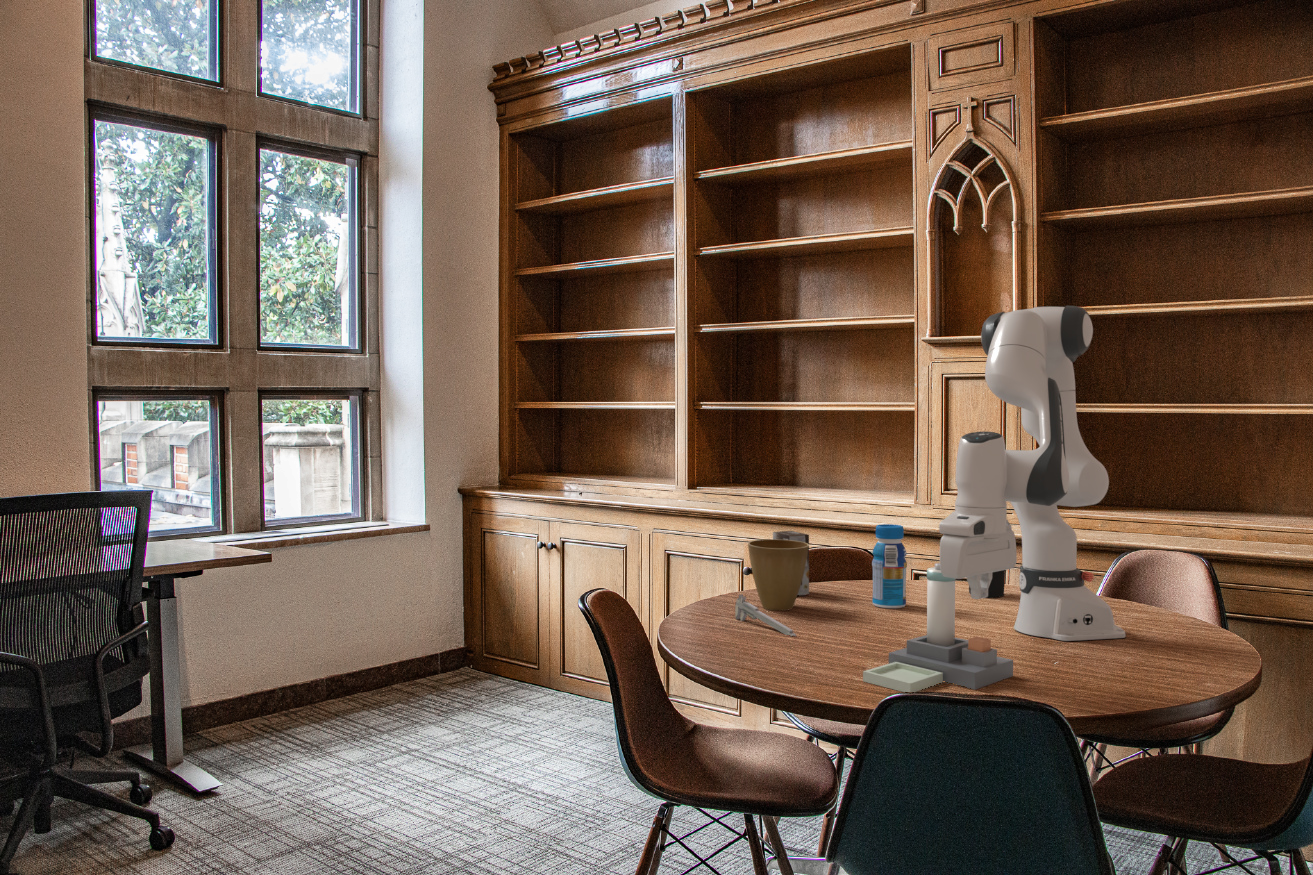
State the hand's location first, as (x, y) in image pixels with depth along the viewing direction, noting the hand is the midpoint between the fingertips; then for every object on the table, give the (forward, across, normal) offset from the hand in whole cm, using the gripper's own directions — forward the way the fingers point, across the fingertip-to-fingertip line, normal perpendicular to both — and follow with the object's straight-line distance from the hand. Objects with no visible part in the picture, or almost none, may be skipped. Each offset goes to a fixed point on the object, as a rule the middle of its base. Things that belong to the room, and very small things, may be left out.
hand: (979, 598), depth 172 cm
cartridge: (+12, 0, -8) cm, 14 cm away
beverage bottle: (+15, -42, -49) cm, 66 cm away
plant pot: (+15, -19, -66) cm, 70 cm away
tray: (+15, +12, -8) cm, 21 cm away
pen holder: (+14, -72, -41) cm, 84 cm away
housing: (+15, 0, -6) cm, 16 cm away
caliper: (+15, -1, -54) cm, 56 cm away
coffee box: (+15, -36, -77) cm, 86 cm away
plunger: (+10, 0, 0) cm, 11 cm away
